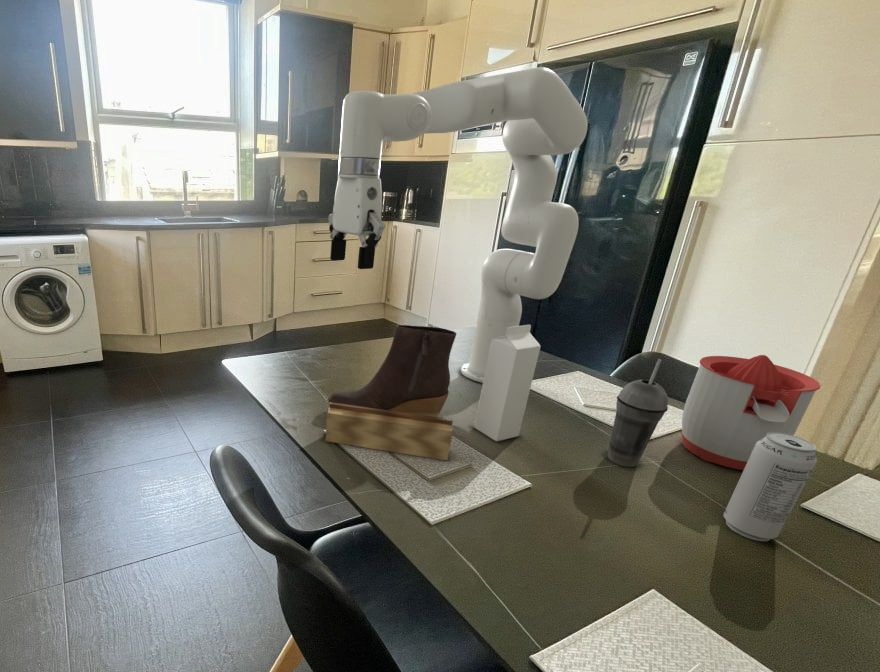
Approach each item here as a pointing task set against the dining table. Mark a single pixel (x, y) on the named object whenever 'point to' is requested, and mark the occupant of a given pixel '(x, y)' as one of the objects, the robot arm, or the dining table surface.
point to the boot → (408, 374)
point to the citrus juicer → (742, 406)
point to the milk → (507, 383)
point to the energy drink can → (770, 485)
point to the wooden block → (389, 430)
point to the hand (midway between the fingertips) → (350, 264)
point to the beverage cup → (636, 419)
